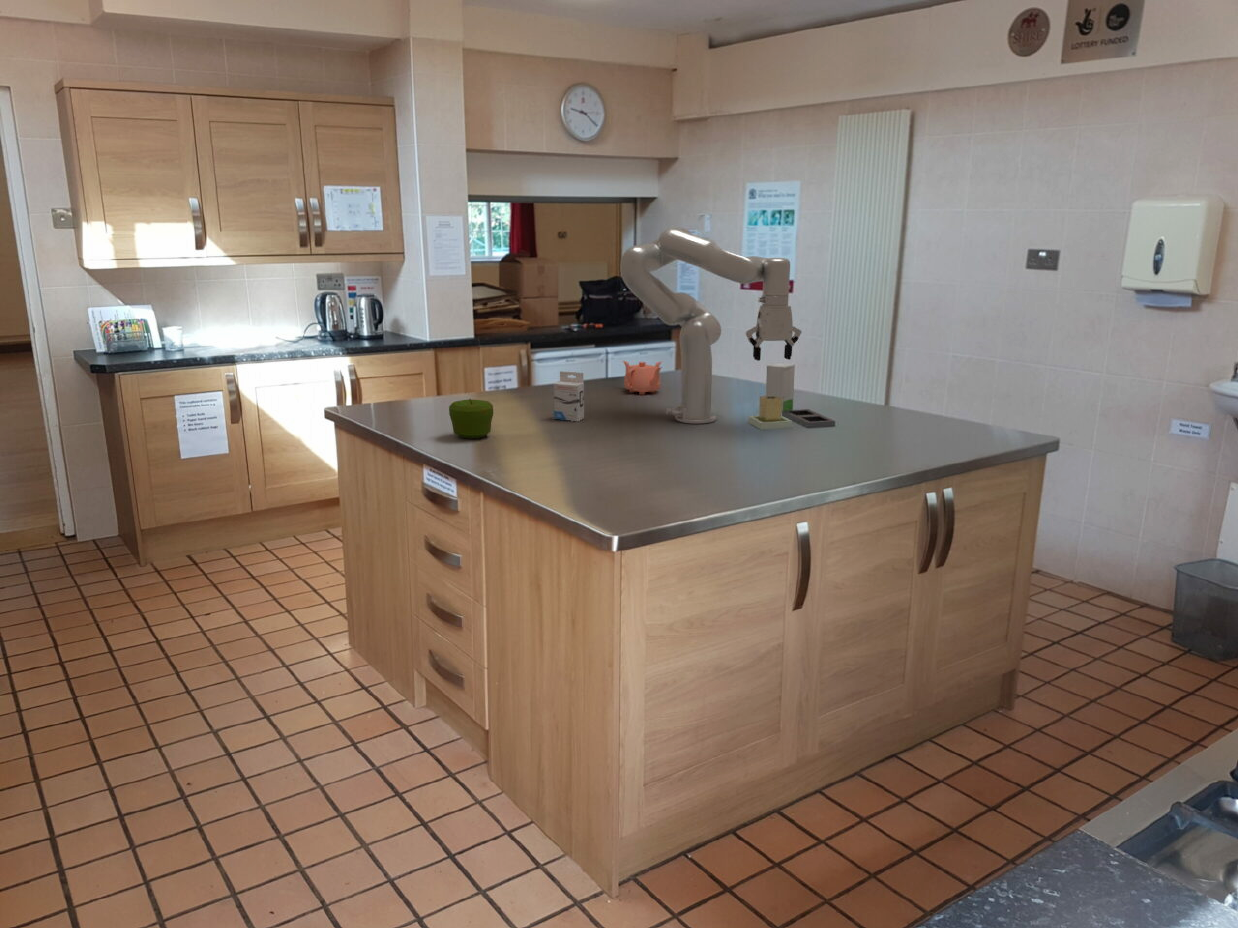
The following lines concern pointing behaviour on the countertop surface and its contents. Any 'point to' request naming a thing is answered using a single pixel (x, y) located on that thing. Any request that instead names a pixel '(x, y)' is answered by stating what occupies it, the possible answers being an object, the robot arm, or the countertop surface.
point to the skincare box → (781, 383)
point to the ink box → (569, 397)
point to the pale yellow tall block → (770, 408)
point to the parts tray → (770, 423)
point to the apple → (471, 418)
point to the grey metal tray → (808, 418)
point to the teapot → (642, 377)
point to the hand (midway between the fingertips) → (772, 359)
